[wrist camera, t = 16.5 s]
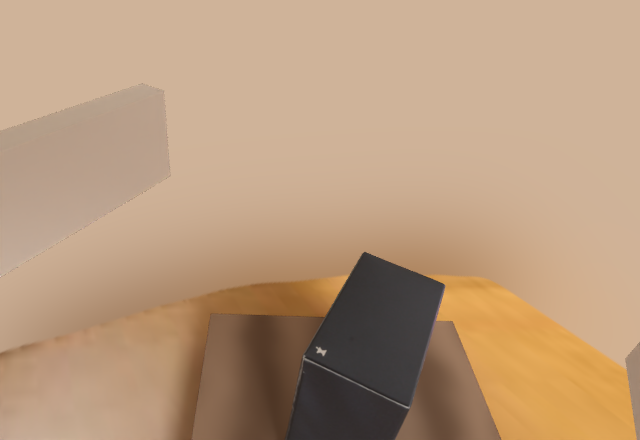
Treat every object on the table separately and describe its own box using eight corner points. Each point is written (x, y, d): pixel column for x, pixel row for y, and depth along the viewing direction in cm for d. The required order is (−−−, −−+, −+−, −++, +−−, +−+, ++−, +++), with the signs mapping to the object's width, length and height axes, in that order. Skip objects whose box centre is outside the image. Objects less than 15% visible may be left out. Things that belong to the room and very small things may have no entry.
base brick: (439, 348, 43) (452, 321, 41) (521, 575, 29) (548, 553, 27) (210, 343, 40) (210, 313, 38) (175, 595, 26) (170, 572, 23)
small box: (370, 506, 27) (415, 414, 21) (277, 456, 29) (294, 357, 23) (410, 375, 36) (451, 281, 29) (336, 342, 37) (360, 247, 31)
